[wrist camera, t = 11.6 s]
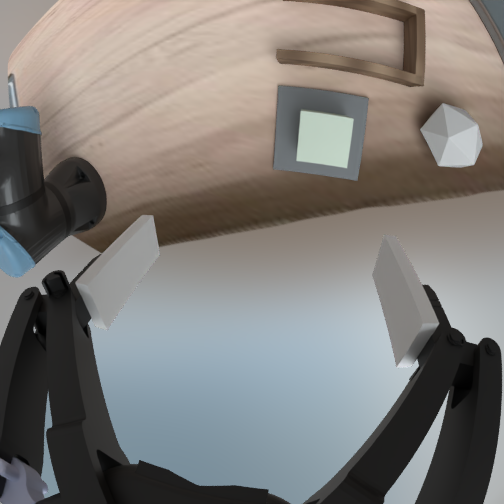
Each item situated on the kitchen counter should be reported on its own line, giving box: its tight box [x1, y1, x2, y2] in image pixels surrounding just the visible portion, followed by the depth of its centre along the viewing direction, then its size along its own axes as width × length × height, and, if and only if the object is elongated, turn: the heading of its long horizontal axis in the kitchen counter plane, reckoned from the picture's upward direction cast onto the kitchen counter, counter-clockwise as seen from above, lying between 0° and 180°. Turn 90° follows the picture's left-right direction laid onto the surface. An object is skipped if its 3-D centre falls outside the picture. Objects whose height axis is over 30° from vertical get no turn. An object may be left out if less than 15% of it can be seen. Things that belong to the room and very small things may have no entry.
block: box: [296, 109, 354, 168], centre depth 31 cm, size 6×6×6 cm
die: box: [420, 103, 483, 167], centre depth 26 cm, size 8×9×10 cm
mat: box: [273, 86, 369, 181], centre depth 34 cm, size 12×12×1 cm
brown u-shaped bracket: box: [276, 0, 425, 87], centre depth 23 cm, size 18×11×5 cm, turn 88°
